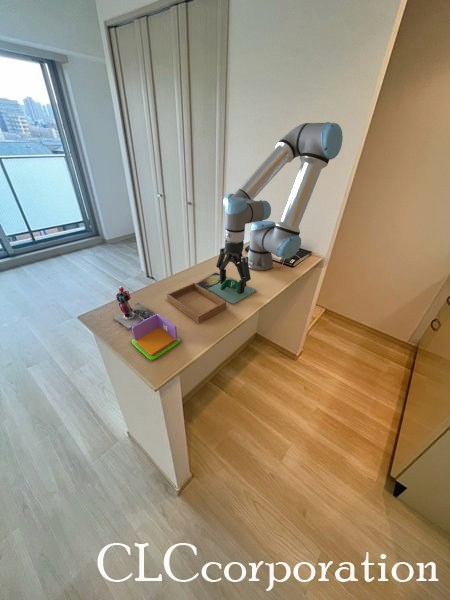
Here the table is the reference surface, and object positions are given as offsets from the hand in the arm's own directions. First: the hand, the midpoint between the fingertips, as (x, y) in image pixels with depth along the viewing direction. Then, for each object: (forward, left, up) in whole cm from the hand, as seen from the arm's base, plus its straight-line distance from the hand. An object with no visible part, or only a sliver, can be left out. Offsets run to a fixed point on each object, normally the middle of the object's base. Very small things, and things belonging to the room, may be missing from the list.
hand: (231, 287), depth 106 cm
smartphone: (+1, -12, -2) cm, 13 cm away
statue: (+41, -12, -2) cm, 43 cm away
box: (+19, -3, -1) cm, 19 cm away
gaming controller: (0, 0, -1) cm, 1 cm away
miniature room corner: (+42, +5, -2) cm, 42 cm away
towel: (0, 0, -1) cm, 1 cm away
